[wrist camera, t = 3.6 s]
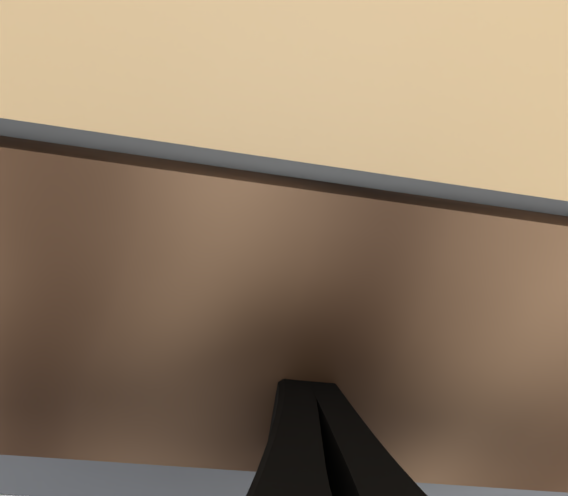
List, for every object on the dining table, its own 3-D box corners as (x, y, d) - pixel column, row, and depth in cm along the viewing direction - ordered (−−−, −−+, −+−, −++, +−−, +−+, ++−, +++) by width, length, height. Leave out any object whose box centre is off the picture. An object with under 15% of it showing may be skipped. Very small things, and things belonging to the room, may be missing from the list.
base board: (-62, 460, 12) (-133, 539, 10) (-180, -392, 7) (-397, -640, 5) (553, 500, 14) (608, 573, 12) (847, -129, 9) (1047, -209, 7)
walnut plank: (-62, 404, 11) (-109, 447, 9) (-100, 120, 8) (-166, 123, 7) (581, 455, 12) (620, 496, 11) (686, 233, 10) (749, 252, 9)
